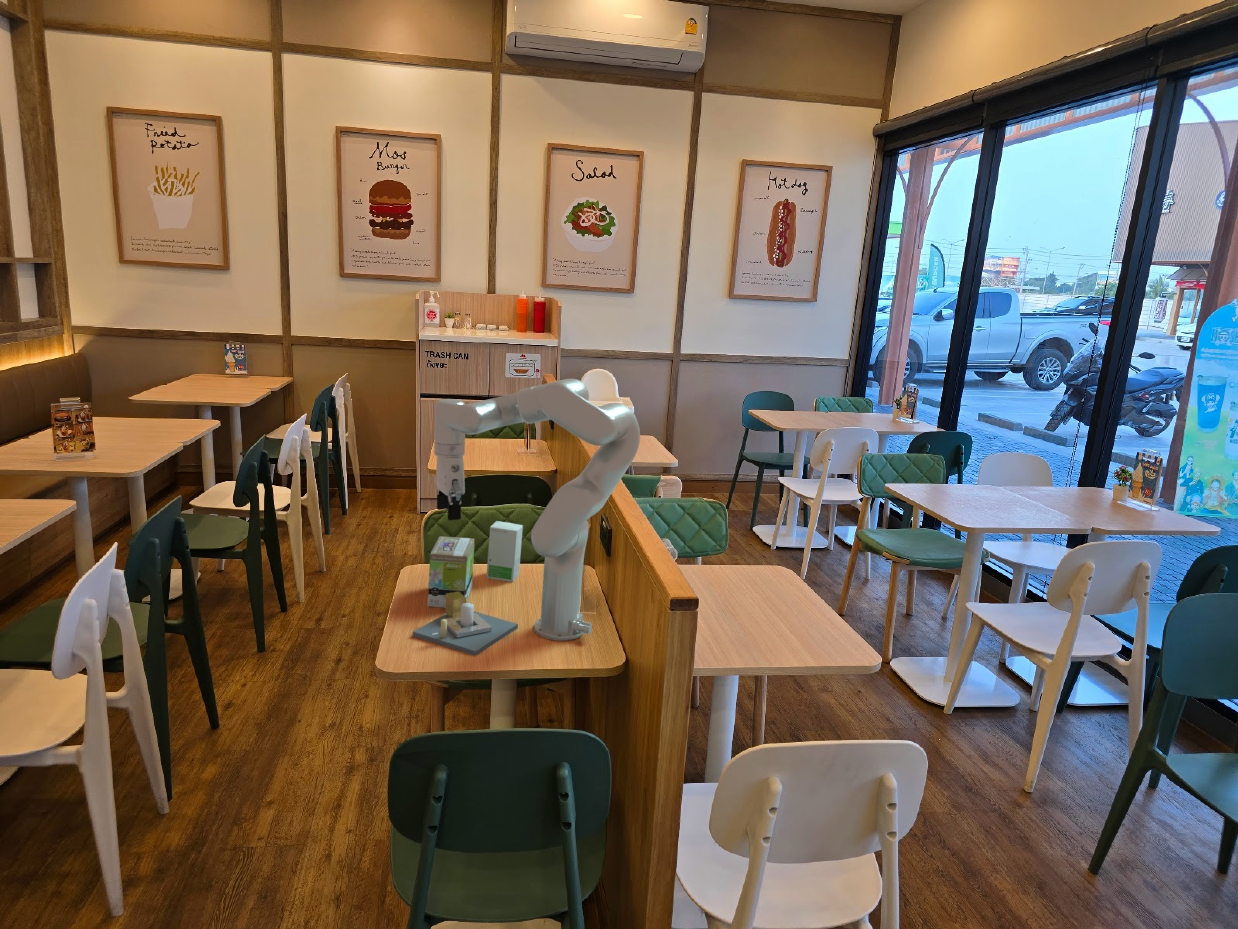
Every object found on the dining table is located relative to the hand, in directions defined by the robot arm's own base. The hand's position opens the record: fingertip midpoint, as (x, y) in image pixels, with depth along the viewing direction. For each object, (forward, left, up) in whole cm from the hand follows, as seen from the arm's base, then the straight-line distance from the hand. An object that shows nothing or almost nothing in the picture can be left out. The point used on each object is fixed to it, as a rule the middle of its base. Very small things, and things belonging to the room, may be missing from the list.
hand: (448, 514), depth 209 cm
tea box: (+2, -4, -25) cm, 25 cm away
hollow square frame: (-13, +10, -23) cm, 28 cm away
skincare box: (-2, -25, -25) cm, 35 cm away
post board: (-15, +11, -25) cm, 31 cm away
